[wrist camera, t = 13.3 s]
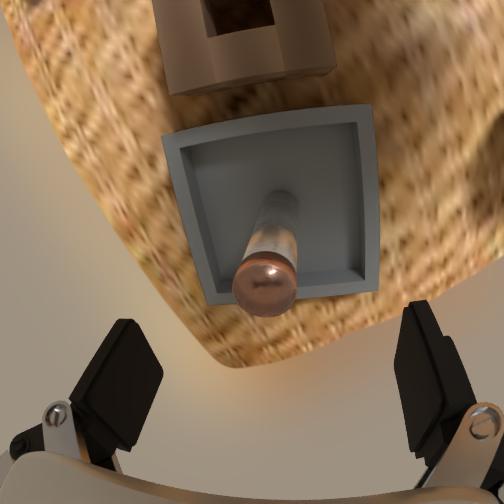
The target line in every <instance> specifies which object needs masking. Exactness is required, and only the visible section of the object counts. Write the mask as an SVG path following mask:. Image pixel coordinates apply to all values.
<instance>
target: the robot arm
mask: <svg viewBox="0 0 504 504" xmlns="http://www.w3.org/2000/svg"><path fill="white" fill-rule="evenodd" d="M394 370H395V375H396V380H397V384H398V389H399V393H400V398H401V403H402V409H403V414H404V419H405V425H406V431H407V437H408V443H409V449H410V452H415V456H416V459H418V458H422V457H424V459H425V465H426V466H428V467H427V469H426V470H425V471H424V473H423V475H422V476H421V478H420V479H419V480H418V482H417V484H416V485H415V486H414V488H413V489H412V490H405V491H398V492H391V493H385V494H378V495H370V496H362V497H351V498H339V499H323V500H268V499H267V500H266V499H251V498H239V497H230V496H221V495H214V494H207V493H201V492H194V491H189V490H184V489H179V488H174V487H169V486H165V485H161V484H156V483H152V482H148V481H145V480H140V479H137V478H134V477H130V476H127V475H124V474H123V473H122V470H121V467H120V464H119V462H118V459H117V456H116V453H115V450H116V448H118V449H120V450H124V451H127V452H130V451H131V448H132V446H134V445H135V444H136V443H137V440H138V438H139V435H140V432H141V430H142V427H143V425H144V423H145V420H146V417H147V415H148V412H149V410H150V408H151V405H152V403H153V400H154V398H155V395H156V393H157V390H158V388H159V385H160V383H161V381H162V378H163V369H162V367H161V365H160V363H159V361H158V360H157V358H156V356H155V354H154V353H153V351H152V349H151V347H150V345H149V343H148V341H147V339H146V338H145V336H144V334H143V332H142V330H141V328H140V326H139V325H138V323H136V322H135V321H134V320H133V319H118V320H117V321H116V322H115V324H114V325H113V327H112V328H111V330H110V331H109V333H108V335H107V336H106V338H105V339H104V341H103V342H102V344H101V346H100V347H99V349H98V350H97V352H96V353H95V355H94V357H93V358H92V360H91V361H90V363H89V365H88V366H87V368H86V370H85V371H84V373H83V375H82V376H81V378H80V380H79V381H78V383H77V385H76V386H75V388H74V390H73V392H72V393H71V395H70V397H69V400H70V401H71V402H72V403H71V405H69V404H68V403H67V402H65V401H56V402H54V403H52V404H51V405H49V406H48V407H47V409H46V410H45V411H44V414H43V416H42V423H41V424H39V425H37V426H35V427H33V428H31V429H28V430H26V431H24V432H22V433H20V434H18V435H17V436H16V437H14V439H13V440H12V442H11V444H10V452H9V451H8V450H7V451H5V452H4V453H3V454H2V455H1V456H0V504H504V414H503V412H502V411H501V410H500V408H499V407H498V406H496V405H494V404H492V403H488V402H481V403H477V401H476V399H475V395H474V393H473V390H472V387H471V384H470V382H469V379H468V377H467V374H466V371H465V369H464V366H463V364H462V361H461V359H460V356H459V354H458V352H457V349H456V347H455V345H454V342H453V341H452V339H451V337H450V336H443V334H442V332H441V330H440V327H439V325H438V323H437V321H436V318H435V316H434V314H433V312H432V310H431V308H430V306H429V303H428V302H427V300H420V301H413V302H410V303H409V305H408V307H404V310H403V316H402V322H401V328H400V333H399V339H398V344H397V349H396V354H395V359H394Z"/></svg>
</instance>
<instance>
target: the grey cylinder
mask: <svg viewBox="0 0 504 504" xmlns="http://www.w3.org/2000/svg"><path fill="white" fill-rule="evenodd" d="M298 213H299V205H298V201H297V199H296V197H295V196H294V195H293V194H292V193H290V192H288V191H286V190H276V191H273V192H271V193H270V194H269V195H268V196H267V197H266V198H265V201H264V203H263V206H262V209H261V211H260V214H259V217H258V219H257V222H256V225H255V227H254V230H253V233H252V235H251V238H250V241H249V243H248V246H247V249H246V251H245V254H244V257H243V260H242V262H241V263H240V265H239V267H238V270H237V273H236V275H235V278H234V281H233V284H232V292H233V296H234V299H235V301H236V302H237V304H238V305H239V306H240V307H241V308H242V309H243V310H245V311H246V312H248V313H250V314H252V315H255V316H259V317H274V316H278V315H281V314H283V313H284V312H286V311H287V310H289V309H290V308H291V306H292V305H293V304H294V301H295V299H296V293H297V273H296V271H297V246H298Z"/></svg>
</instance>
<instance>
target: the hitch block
mask: <svg viewBox="0 0 504 504" xmlns="http://www.w3.org/2000/svg"><path fill="white" fill-rule="evenodd" d="M264 1H270V4H271V8H272V13H273V17H274V21H275V25H271V26H265V27H259V28H253V29H247V30H242V31H237V32H232V33H228V34H224V32H223V27H222V23H221V18H220V13H219V10H223V9H227V8H231V7H236V6H241V5H246V4H252V3H258V2H264ZM152 4H153V10H154V16H155V22H156V27H157V33H158V39H159V44H160V50H161V55H162V60H163V65H164V71H165V76H166V81H167V86H168V91H169V95H185V96H199V95H203V94H208V93H212V92H216V91H221V90H226V89H231V88H236V87H241V86H246V85H252V84H257V83H264V82H270V81H277V80H284V79H292V78H300V77H309V76H320V75H326V74H327V73H329V72H330V71H331V70H332V69H334V68H335V67H336V66H337V64H336V59H335V54H334V49H333V44H332V39H331V35H330V30H329V26H328V22H327V17H326V13H325V9H324V5H323V1H322V0H152Z"/></svg>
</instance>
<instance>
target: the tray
mask: <svg viewBox="0 0 504 504" xmlns="http://www.w3.org/2000/svg"><path fill="white" fill-rule="evenodd" d="M161 139H162V143H163V147H164V151H165V156H166V160H167V164H168V168H169V172H170V176H171V180H172V184H173V188H174V191H175V195H176V199H177V203H178V207H179V210H180V214H181V218H182V221H183V225H184V228H185V232H186V236H187V239H188V243H189V246H190V249H191V253H192V256H193V260H194V263H195V266H196V270H197V273H198V276H199V280H200V283H201V286H202V289H203V293H204V296H205V299H206V302H207V305H224V304H237V302H236V301H235V299H234V296H233V292H232V284H233V281H234V278H235V275H236V273H237V270H238V267H239V265H240V263H241V262H242V260H243V257H244V254H245V251H246V249H247V246H248V243H249V241H250V238H251V235H252V233H253V230H254V227H255V225H256V222H257V219H258V217H259V214H260V211H261V209H262V206H263V203H264V201H265V198H266V197H267V196H268V195H269V194H270V193H271V192H273V191H276V190H286V191H288V192H290V193H292V194H293V195H294V196H295V197H296V199H297V201H298V205H299V213H298V246H297V271H296V273H297V293H296V299H305V298H316V297H326V296H336V295H345V294H354V293H363V292H372V291H378V286H379V261H380V204H379V179H378V163H377V150H376V139H375V129H374V120H373V111H372V104H349V105H335V106H323V107H313V108H303V109H295V110H287V111H280V112H273V113H266V114H259V115H253V116H247V117H242V118H236V119H231V120H226V121H221V122H216V123H211V124H206V125H202V126H197V127H193V128H189V129H185V130H181V131H177V132H173V133H170V134H167V135H163V136H161Z"/></svg>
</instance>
